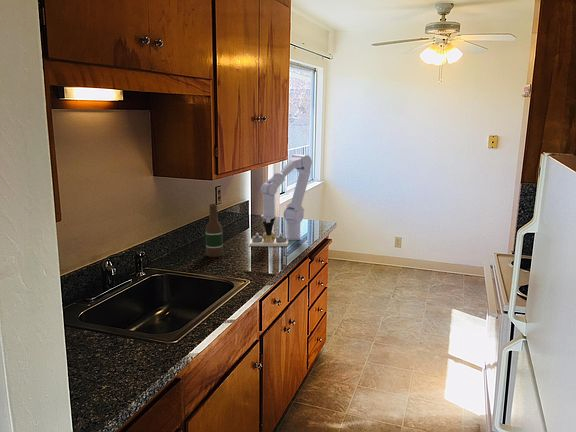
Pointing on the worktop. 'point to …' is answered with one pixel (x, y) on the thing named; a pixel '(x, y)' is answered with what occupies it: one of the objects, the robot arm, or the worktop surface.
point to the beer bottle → (214, 234)
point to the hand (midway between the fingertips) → (269, 233)
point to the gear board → (278, 241)
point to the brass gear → (269, 237)
